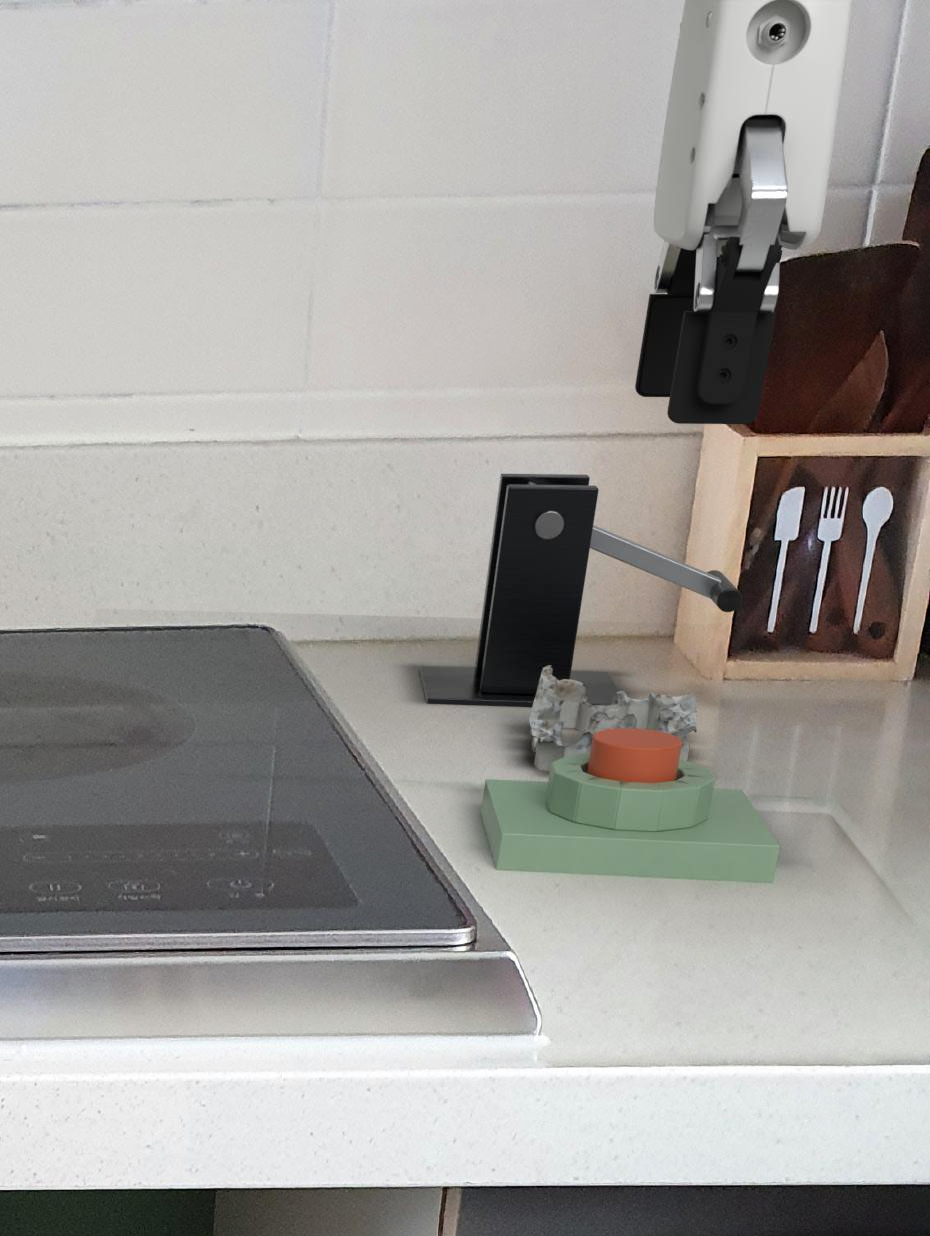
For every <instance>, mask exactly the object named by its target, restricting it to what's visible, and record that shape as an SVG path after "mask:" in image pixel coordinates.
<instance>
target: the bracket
mask: <svg viewBox="0 0 930 1236" xmlns="http://www.w3.org/2000/svg"><path fill="white" fill-rule="evenodd" d="M590 480H591V478H590V475H588V474H573V473H571V474H568V473H567V474H565V473H564V474H563V473H562V474H561V473H559V474H558V473H557V474H556V473H500V477H499V483H498V484H499V485H498V491H497V500H496V507H495V514H494V521H493V529H492V537H491V542H490V543H491V545H490V551H489V559H488V567H487V573H486V582H485V588H484V597H483V604H482V612H481V618H480V619H481V620H480V628H479V635H478V641H477V649H476V657H475V663H474V667H463V666H462V667H459V666H457V667H456V666H431V665H429V666H427V665H426V666H425V665H421V666H419V675H420V676H419V677H420V681H421V684H422V688H423V693H424V697H425V701H426V704H427V705H449V706H450V705H453V706H477V707H478V706H481V707H507V708H508V707H509V708H510V707H511V708H532V707H533V702H534V699H535V696H536V692H537V689H538V684H539V680H540V676H541V673H542V670H543V668H544V667H545V666H547V665H548V666H549V665H551V668H552V669H553V672H552V676H554V677H555V678H556V679H558V680H559V681H560V680H562V679H570V680H576V681H578V682H581V683H583V685H584V686H585V690H586V696H587V700H586V702H588V703H589V704H591V705H593V706H598V705H603V706H608V705H611V704H612V701H613V696H614V695H615V694H616V693H617V692H618V691H620V690H619V689H618V687H617V685H616V683H615V682H614V680H613V678H612V676H611V675H610V673H609V671H597V670H596V671H594V670H592V671H591V670H590V671H589V670H572V669H573V662H574V655H575V648H576V641H577V635H578V629H579V621H580V615H581V610H582V609H581V608H582V603H583V595H584V590H585V583H586V574H587V569H588V563H589V555H590V550H591V548H590V544H591V537H592V530H593V525H594V523H595V518H596V510H597V504H598V497H599V488H598V486H597V485H590ZM528 482H532V483H535V484H537V485H527V484H528Z"/></svg>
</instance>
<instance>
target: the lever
mask: <svg viewBox="0 0 930 1236" xmlns="http://www.w3.org/2000/svg"><path fill="white" fill-rule="evenodd" d="M527 485H537V484H535V483H532V482H528V484H527ZM590 550H593V551H595V552H598V553H601V554H602V555H605V556H608V557H610V558H613V559H615V560H617V561H619V562H623V563H625V564H627V565H629V566H632V567H634V568H636V569H638V570H641V571H644V572H645V573H648V574H651V575H653V576H655V577H658V578H660V579H662V580H665V581H667V582H670V583H672V584H674V585H676V586H679V587H682V588H684V589H686V590H689V591H691V592H693V593H696V594H698V595H701V596H703V597H705V598H708V599H710V600H711V601H712V602H713V603H714V605H715V606H716V607H717V608H718V609H719V610H720V611H721V612H724V613H732V612H734V611H736V610H738V609H739V608H740V607H741V605H742V603H743V594H742V592H740V591H739V589H738V588H737V587H736V586H735V585H734V584H733V582H732V581H730V580H729V579H728V578H727V577H726V575H725V574H723V572H721V571H720V570H718V569H712V570H709V571H707V572H706V571H704V570H702V569H699V568H697V567H695V566H692V565H690V564H687V563H685V562H683V561H680V560H678V559H676V558H673V557H671V556H668V555H667V554H664V553H662V552H658V551H657V550H654V549H652V548H649V547H647V546H645V545H642V544H640V543H637V542H635V541H633V540H630V539H628V538H626V537H623V536H621V535H619V534H616V533H614V532H611V531H608V530H606V529H604V528H602V527H599V526H596V525H594V524H593V530H592V537H591V544H590Z"/></svg>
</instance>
